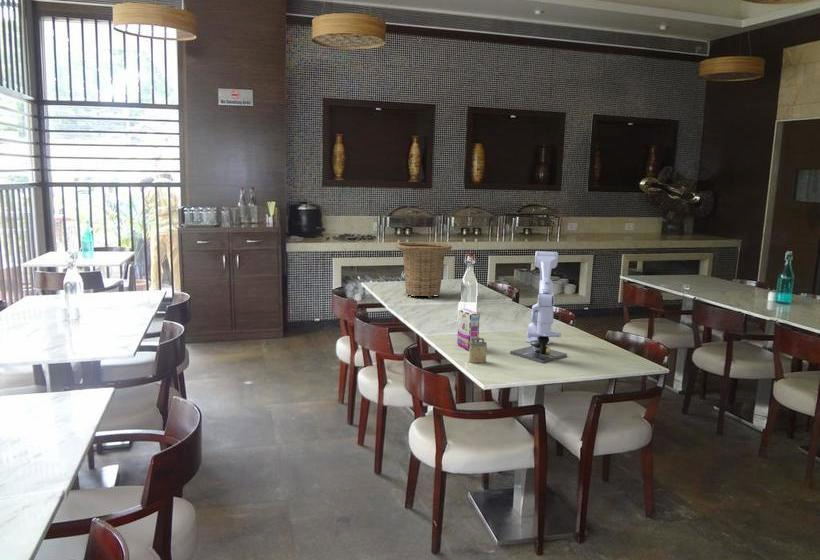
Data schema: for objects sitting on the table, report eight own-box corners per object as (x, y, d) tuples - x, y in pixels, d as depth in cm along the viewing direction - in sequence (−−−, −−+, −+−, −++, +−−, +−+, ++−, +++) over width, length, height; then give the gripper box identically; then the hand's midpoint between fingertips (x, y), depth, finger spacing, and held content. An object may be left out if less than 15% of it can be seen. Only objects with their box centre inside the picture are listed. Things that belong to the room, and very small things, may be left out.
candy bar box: (478, 350, 270) (480, 313, 267) (468, 351, 268) (470, 314, 265) (466, 344, 280) (468, 308, 277) (456, 344, 278) (458, 309, 275)
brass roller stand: (527, 348, 268) (528, 340, 267) (539, 347, 270) (540, 339, 269) (541, 355, 257) (542, 347, 256) (554, 354, 259) (554, 346, 258)
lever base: (510, 353, 265) (510, 345, 265) (534, 347, 276) (535, 340, 276) (542, 363, 252) (542, 354, 252) (566, 356, 264) (567, 348, 263)
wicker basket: (425, 303, 372) (427, 248, 367) (384, 295, 395) (385, 243, 390) (460, 296, 398) (463, 245, 393) (419, 289, 421) (421, 240, 416)
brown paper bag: (484, 360, 254) (485, 336, 253) (487, 363, 250) (488, 339, 249) (467, 360, 253) (468, 337, 252) (470, 363, 249) (471, 339, 248)
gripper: (530, 324, 252) (528, 356, 254) (564, 324, 254) (562, 356, 255) (525, 320, 259) (523, 352, 261) (558, 320, 260) (556, 351, 262)
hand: (542, 354), depth 258 cm, fingers closed, pressing on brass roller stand
